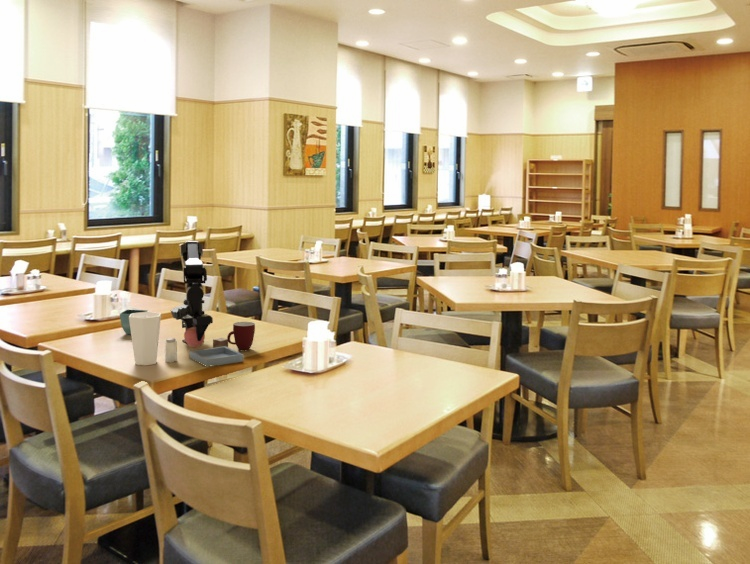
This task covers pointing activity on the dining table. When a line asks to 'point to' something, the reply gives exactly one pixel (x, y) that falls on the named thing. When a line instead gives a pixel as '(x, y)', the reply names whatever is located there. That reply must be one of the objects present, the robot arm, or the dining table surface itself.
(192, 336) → the apple
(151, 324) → the cup
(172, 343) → the white shaker
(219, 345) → the walnut block
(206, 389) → the dining table surface
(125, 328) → the flower pot
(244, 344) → the mug
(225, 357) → the dish
